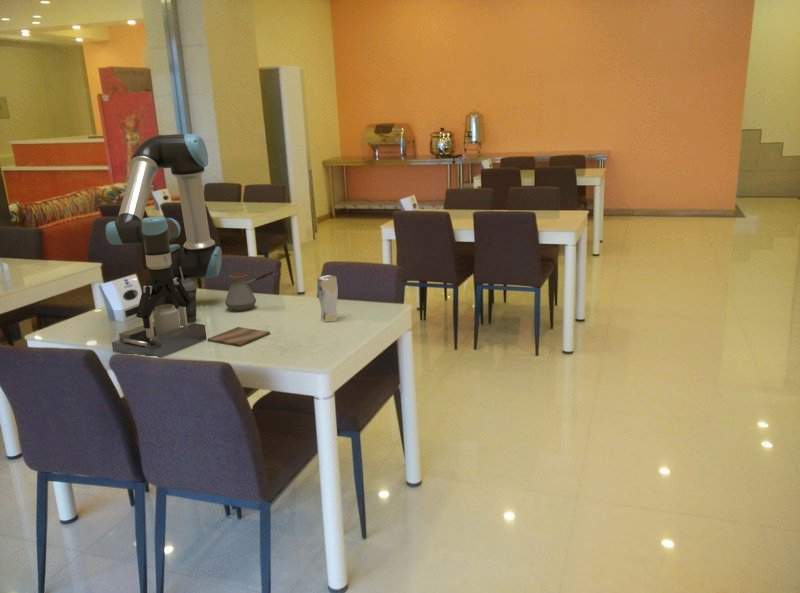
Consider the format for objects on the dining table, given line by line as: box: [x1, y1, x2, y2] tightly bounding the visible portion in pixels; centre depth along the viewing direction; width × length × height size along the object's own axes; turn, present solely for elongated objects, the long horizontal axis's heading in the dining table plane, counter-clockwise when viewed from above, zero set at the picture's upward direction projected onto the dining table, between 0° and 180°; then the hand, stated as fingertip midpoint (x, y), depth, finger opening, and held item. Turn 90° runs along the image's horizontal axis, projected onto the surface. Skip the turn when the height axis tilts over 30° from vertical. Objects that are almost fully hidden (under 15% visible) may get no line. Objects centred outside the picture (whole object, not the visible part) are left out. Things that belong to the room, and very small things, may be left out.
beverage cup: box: [175, 266, 198, 324], centre depth 243 cm, size 7×7×20 cm
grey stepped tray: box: [111, 321, 208, 358], centre depth 220 cm, size 19×21×5 cm
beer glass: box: [316, 274, 339, 322], centre depth 240 cm, size 7×7×15 cm
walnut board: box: [207, 326, 271, 348], centre depth 225 cm, size 14×14×1 cm
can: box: [152, 304, 181, 336], centre depth 222 cm, size 8×8×12 cm
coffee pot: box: [224, 269, 278, 312], centre depth 257 cm, size 21×12×15 cm, turn 76°
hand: (167, 331), depth 222 cm, fingers open, 13 cm apart
